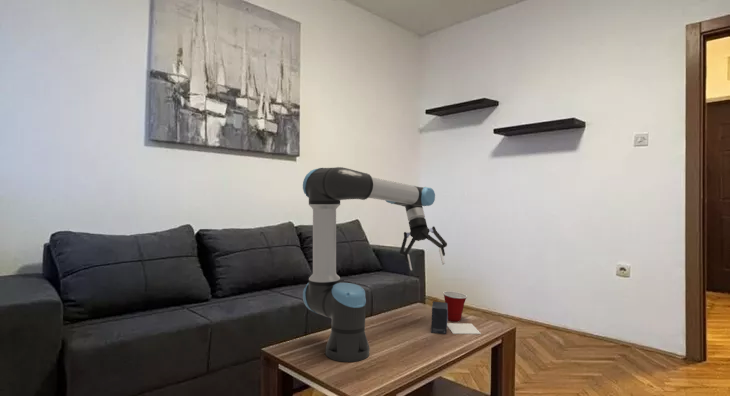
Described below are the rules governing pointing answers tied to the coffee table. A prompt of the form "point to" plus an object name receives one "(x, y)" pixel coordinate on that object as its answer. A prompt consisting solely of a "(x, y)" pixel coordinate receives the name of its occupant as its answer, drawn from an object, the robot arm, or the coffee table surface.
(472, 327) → the mat
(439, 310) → the small box
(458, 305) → the plastic cup
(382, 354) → the coffee table surface
